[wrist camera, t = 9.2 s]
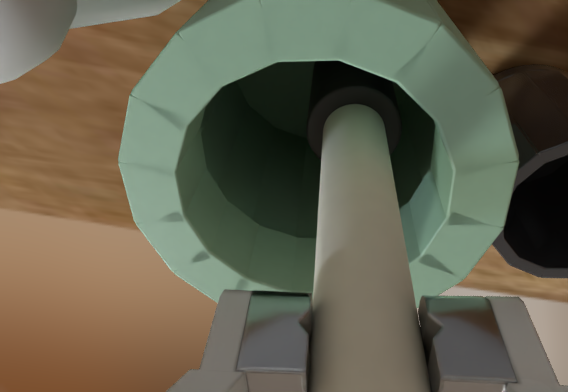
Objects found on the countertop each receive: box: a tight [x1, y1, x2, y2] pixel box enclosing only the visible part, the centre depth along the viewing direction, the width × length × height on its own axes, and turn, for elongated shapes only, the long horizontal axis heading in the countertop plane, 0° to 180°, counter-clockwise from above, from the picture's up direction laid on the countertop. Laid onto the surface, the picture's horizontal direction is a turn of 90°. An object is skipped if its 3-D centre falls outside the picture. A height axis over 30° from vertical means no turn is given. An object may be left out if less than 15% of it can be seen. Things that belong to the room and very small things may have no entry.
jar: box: [118, 0, 519, 308], centre depth 17 cm, size 9×9×12 cm
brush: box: [306, 60, 431, 392], centre depth 12 cm, size 3×3×17 cm
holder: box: [492, 64, 568, 278], centre depth 20 cm, size 6×6×7 cm
